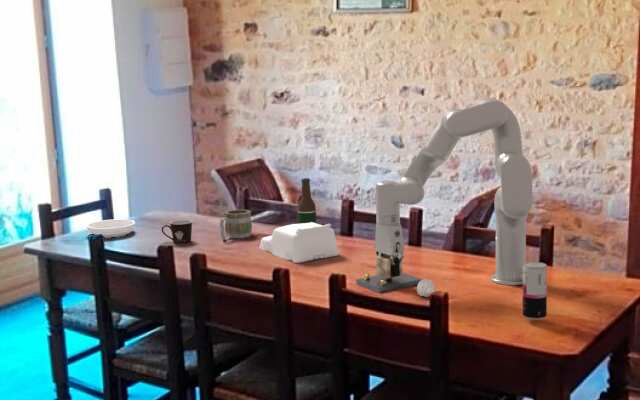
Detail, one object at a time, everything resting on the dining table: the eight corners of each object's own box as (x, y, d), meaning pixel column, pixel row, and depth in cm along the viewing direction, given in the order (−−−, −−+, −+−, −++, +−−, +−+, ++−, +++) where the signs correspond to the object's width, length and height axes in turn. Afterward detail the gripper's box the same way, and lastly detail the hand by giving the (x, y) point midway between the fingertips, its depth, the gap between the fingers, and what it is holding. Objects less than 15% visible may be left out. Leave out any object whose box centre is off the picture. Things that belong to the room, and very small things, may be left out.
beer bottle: (303, 239, 366) (301, 180, 361) (294, 236, 372) (292, 178, 368) (320, 237, 369) (318, 178, 365) (311, 234, 376) (309, 176, 372)
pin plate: (422, 283, 294) (422, 258, 292) (379, 292, 285) (378, 266, 284) (398, 275, 305) (398, 250, 303) (356, 284, 296) (355, 258, 295)
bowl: (130, 245, 366) (129, 227, 365) (82, 246, 367) (81, 229, 365) (140, 235, 385) (139, 218, 384) (94, 236, 386) (93, 219, 385)
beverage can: (521, 318, 254) (521, 266, 252) (524, 312, 260) (524, 261, 258) (544, 320, 252) (545, 268, 249) (547, 313, 258) (548, 262, 255)
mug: (237, 237, 375) (236, 208, 372) (258, 239, 368) (256, 210, 366) (211, 244, 362) (210, 215, 360) (232, 247, 356) (230, 217, 354)
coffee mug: (198, 245, 361) (196, 220, 359) (183, 250, 354) (182, 225, 352) (175, 243, 367) (174, 218, 365) (161, 247, 360) (159, 222, 358)
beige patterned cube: (402, 275, 293) (401, 257, 292) (387, 278, 290) (386, 260, 289) (391, 272, 298) (391, 254, 297) (376, 274, 295) (375, 256, 294)
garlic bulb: (425, 301, 274) (425, 283, 273) (415, 296, 280) (415, 279, 279) (441, 298, 277) (440, 281, 276) (431, 294, 282) (430, 277, 281)
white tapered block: (297, 267, 322) (295, 230, 320) (257, 252, 347) (255, 218, 345) (342, 259, 332) (341, 223, 329) (300, 245, 357) (298, 211, 355)
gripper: (413, 222, 286) (414, 277, 289) (382, 214, 300) (383, 267, 304) (394, 225, 282) (395, 281, 285) (363, 217, 297) (364, 270, 300)
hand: (389, 273), depth 294 cm, fingers closed on beige patterned cube, 5 cm apart
